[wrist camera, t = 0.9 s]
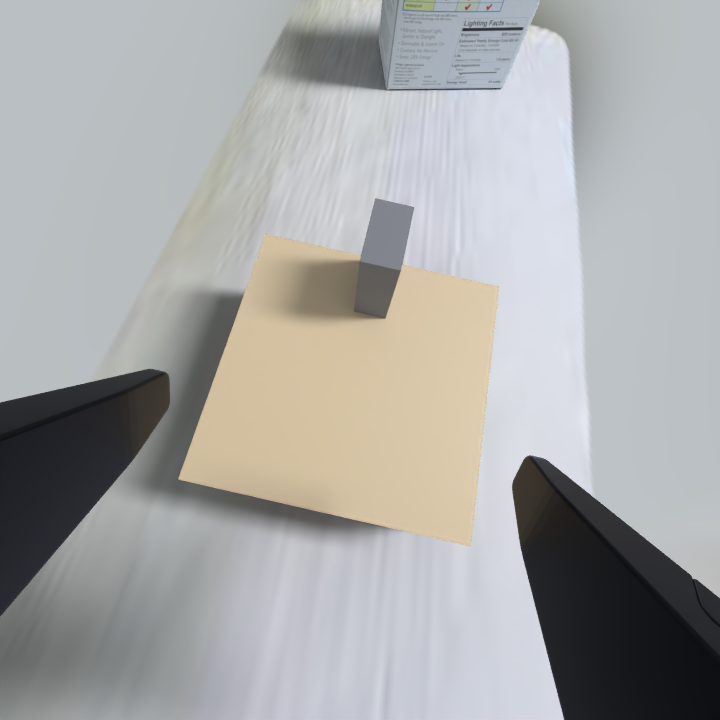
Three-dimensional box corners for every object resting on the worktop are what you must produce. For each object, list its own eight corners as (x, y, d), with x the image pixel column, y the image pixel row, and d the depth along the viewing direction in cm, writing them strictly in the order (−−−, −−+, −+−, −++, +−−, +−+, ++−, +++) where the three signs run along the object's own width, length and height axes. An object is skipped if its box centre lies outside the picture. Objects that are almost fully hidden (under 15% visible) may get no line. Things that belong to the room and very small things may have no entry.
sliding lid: (465, 543, 16) (523, 573, 11) (183, 479, 16) (118, 480, 11) (494, 292, 20) (545, 232, 15) (267, 241, 20) (246, 165, 15)
